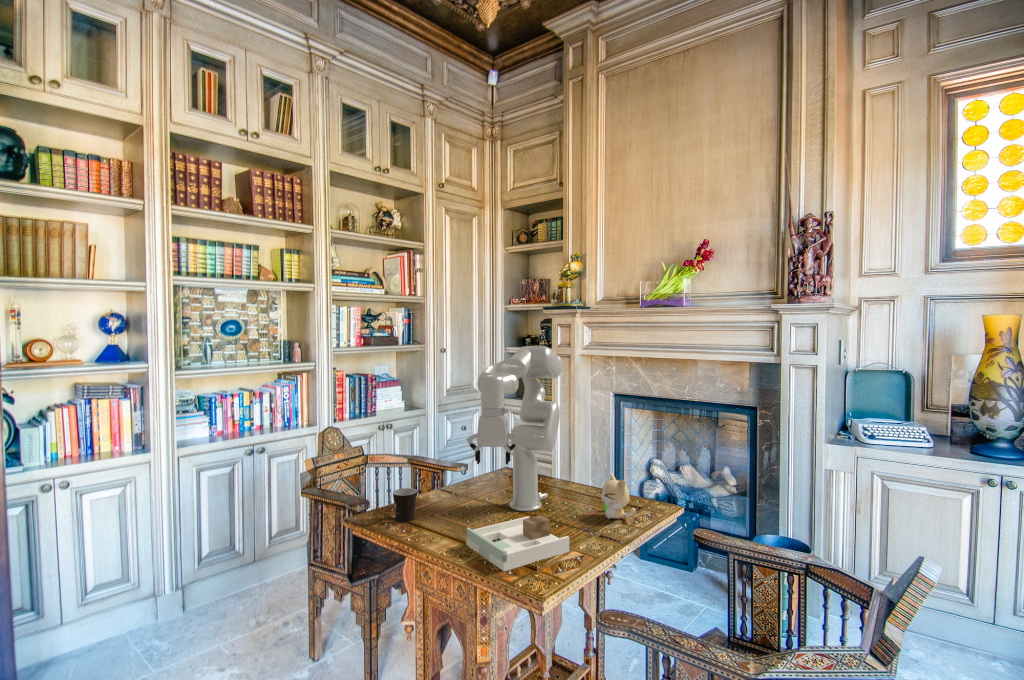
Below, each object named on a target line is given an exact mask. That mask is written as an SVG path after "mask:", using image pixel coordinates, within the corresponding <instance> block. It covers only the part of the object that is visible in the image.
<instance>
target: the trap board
mask: <svg viewBox="0 0 1024 680" xmlns="http://www.w3.org/2000/svg"><path fill="white" fill-rule="evenodd" d="M527 518H531V517H530V516H528V515H527V516H523V517H519V518H515V519H511V520H507V521H503V522H499V523H495V524H490V525H487V526H482V527H479V528H474V529H473V528H471V527H466V529H465V530H466V532H465V534H466V537H465V539H466V546H467V547H468V546H469V547H468V548H470V549H471V550H472V549H473V551H474V552H475V551H476V552H475V553H477V552H478V553H479V554H478V553H477V554H478V555H480V556H481V557H482V556H483V557H482V558H483V559H485V560H486V561H488V562H490V563H491V564H492V563H493V565H494V566H496V567H497V568H498V569H500V570H501V571H503V572H506V571H510V570H514V569H517V568H520V567H524V566H526V565H529V564H532V562H533V563H536V562H535V561H537V562H540V561H543V560H546V559H550V558H553V557H555V556H559V555H563V554H566V553H569V552H570V536H568V535H566V536H562V537H558V536H556V535H554V534H552V533H550V535H549V536H545V537H542V538H538V539H535V540H531V539H529V538H527V537H526V536H524V535H523V519H527ZM497 539H500V540H497ZM493 540H496V541H493ZM542 559H543V560H542ZM539 560H540V561H539Z"/></svg>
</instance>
